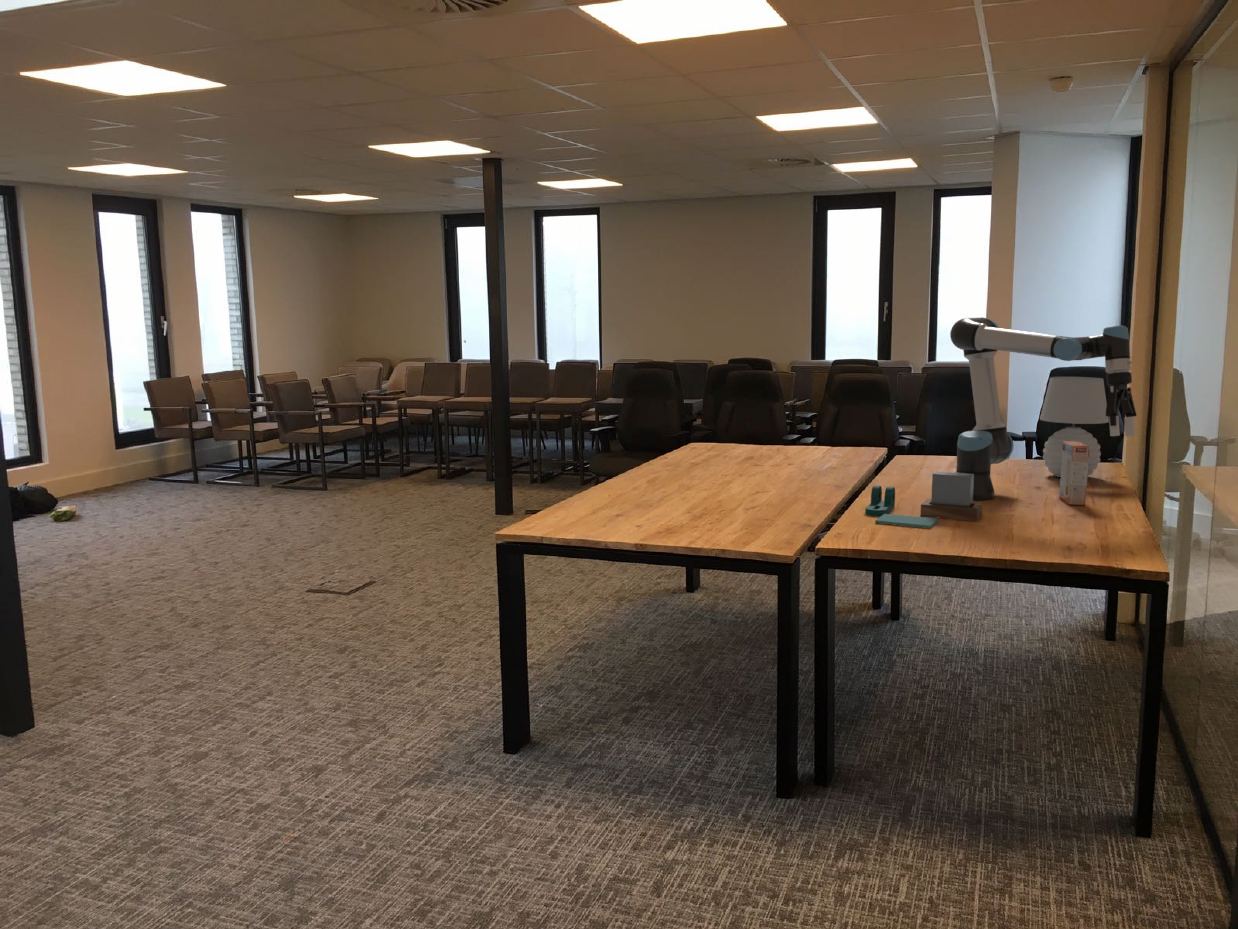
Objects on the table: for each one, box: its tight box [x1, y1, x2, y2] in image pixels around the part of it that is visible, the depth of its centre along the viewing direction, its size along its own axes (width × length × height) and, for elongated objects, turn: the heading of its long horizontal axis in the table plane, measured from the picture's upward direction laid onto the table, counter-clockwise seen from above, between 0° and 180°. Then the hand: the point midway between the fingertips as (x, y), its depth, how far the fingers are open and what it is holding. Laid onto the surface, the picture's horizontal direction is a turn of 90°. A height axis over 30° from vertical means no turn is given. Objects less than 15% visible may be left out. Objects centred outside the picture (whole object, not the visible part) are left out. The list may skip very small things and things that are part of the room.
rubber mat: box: [874, 513, 939, 529], centre depth 316 cm, size 12×17×1 cm
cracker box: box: [1058, 441, 1090, 506], centre depth 348 cm, size 14×6×21 cm, turn 168°
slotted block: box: [919, 498, 983, 522], centre depth 326 cm, size 12×18×4 cm, turn 62°
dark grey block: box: [930, 470, 974, 508], centre depth 326 cm, size 6×12×14 cm, turn 62°
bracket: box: [864, 485, 896, 517], centre depth 334 cm, size 18×7×8 cm, turn 154°
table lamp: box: [1039, 376, 1109, 478], centre depth 400 cm, size 25×25×40 cm
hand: (1122, 436), depth 332 cm, fingers open, 13 cm apart
